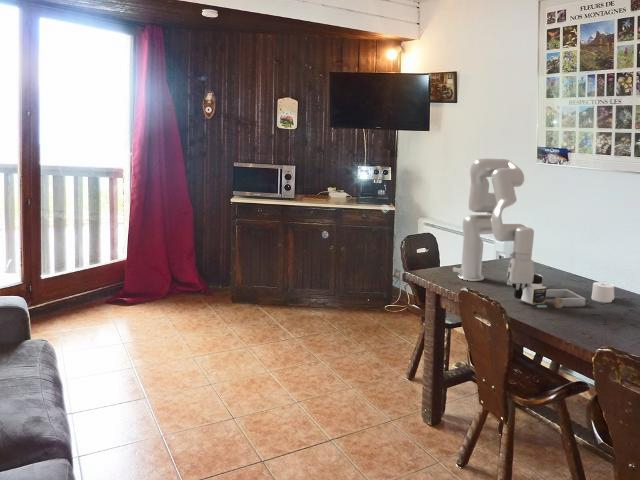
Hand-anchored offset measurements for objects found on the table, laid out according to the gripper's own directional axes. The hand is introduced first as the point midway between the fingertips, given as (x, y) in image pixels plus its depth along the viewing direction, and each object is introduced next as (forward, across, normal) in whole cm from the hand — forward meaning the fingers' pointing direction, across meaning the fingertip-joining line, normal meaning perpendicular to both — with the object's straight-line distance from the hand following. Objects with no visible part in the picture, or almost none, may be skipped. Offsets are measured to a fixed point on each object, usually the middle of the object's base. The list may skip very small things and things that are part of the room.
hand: (517, 298), depth 238 cm
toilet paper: (+2, +42, +2) cm, 42 cm away
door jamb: (+2, +14, 0) cm, 14 cm away
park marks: (+2, +7, 0) cm, 7 cm away
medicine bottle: (+2, +7, 0) cm, 7 cm away
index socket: (+2, +21, 0) cm, 21 cm away
